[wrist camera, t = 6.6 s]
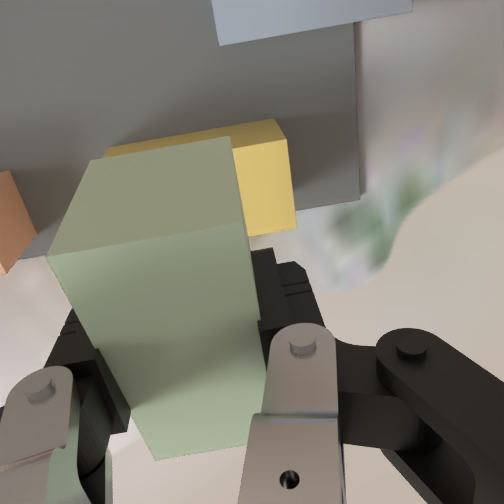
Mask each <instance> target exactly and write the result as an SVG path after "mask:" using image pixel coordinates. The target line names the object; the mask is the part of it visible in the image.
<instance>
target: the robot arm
mask: <svg viewBox="0 0 504 504" xmlns="http://www.w3.org/2000/svg"><path fill="white" fill-rule="evenodd" d="M250 252H251V259H252V265H253V272H254V278H255V285H256V291H257V298H258V304H259V311H260V317H261V320H258V321H257V323H258V330H259V336H260V341H261V346H262V351H263V357H264V362H265V367H266V372H267V374H266V380H265V387H264V394H263V401H262V408H261V413H255V414H254V415H253V417H252V420H251V424H250V430H249V436H248V442H247V449H246V455H245V461H244V468H243V473H242V479H241V485H240V491H239V497H238V504H346V485H345V463H344V444H351V445H358V446H366V447H373V448H374V447H375V448H380V449H381V451H382V453H383V454H384V455H385V456H386V458H387V459H388V460H389V461H390V462H391V463H392V464H393V466H394V467H395V468H396V469H397V470H398V471H399V472H400V473H401V475H402V476H403V477H404V478H405V479H406V480H407V481H408V482H409V483H410V485H411V486H412V487H413V488H414V489H415V490H416V491H417V492H418V493H419V495H420V496H421V497H422V498H423V499H424V500H425V501H426V502H427V503H428V504H504V382H502V381H501V380H499V379H498V378H497V377H495V376H494V375H492V374H491V373H489V372H488V371H487V370H485V369H484V368H482V367H481V366H479V365H478V364H476V363H475V362H474V361H472V360H471V359H469V358H468V357H466V356H465V355H463V354H462V353H461V352H459V351H458V350H456V349H455V348H453V347H452V346H450V345H449V344H448V343H446V342H445V341H443V340H442V339H440V338H439V337H437V336H436V335H434V334H432V333H430V332H427V331H424V330H420V329H413V328H402V329H396V330H392V331H390V332H388V333H386V334H384V335H383V336H382V337H381V338H380V339H379V340H378V342H377V344H376V347H374V346H359V345H352V344H348V343H345V342H342V341H340V340H338V339H336V338H335V337H334V336H333V334H332V333H331V332H330V331H329V330H328V329H326V327H325V325H324V322H323V319H322V316H321V313H320V311H319V308H318V305H317V302H316V299H315V296H314V293H313V292H312V288H311V285H310V283H309V279H308V276H307V274H306V271H305V269H304V268H302V267H301V266H300V265H299V264H297V263H296V262H295V261H292V262H287V263H281V264H277V263H276V259H275V255H274V251H273V247H272V248H266V249H260V250H255V251H250ZM130 414H131V408H130V406H129V404H128V403H127V401H126V399H125V397H124V395H123V393H122V391H121V389H120V388H119V386H118V384H117V382H116V380H115V378H114V376H113V374H112V372H111V371H110V369H109V367H108V365H107V363H106V361H105V359H104V357H103V355H102V354H101V352H100V350H99V348H97V349H95V348H94V346H93V344H92V343H91V341H90V339H89V337H88V335H87V333H86V331H85V330H84V328H83V326H82V324H81V322H80V320H79V318H78V317H77V315H76V313H75V311H74V309H72V310H71V311H70V313H69V315H68V317H67V319H66V322H65V325H64V326H63V328H62V330H61V332H60V336H58V338H57V341H56V343H55V345H54V347H53V349H52V351H51V353H50V355H49V357H48V360H47V362H46V364H45V366H44V368H43V369H40V370H38V371H35V372H33V373H31V374H30V375H28V376H26V377H25V378H23V379H22V380H21V381H20V382H18V383H17V384H16V385H15V386H14V388H13V389H12V390H11V391H10V393H9V395H8V397H7V399H6V403H5V406H3V407H1V408H0V504H113V496H112V493H113V492H112V456H111V453H110V451H109V449H108V447H107V446H108V442H109V438H110V435H112V434H118V433H123V432H127V429H128V424H129V419H130Z"/></svg>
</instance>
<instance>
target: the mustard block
mask: <svg viewBox="0 0 504 504" xmlns="http://www.w3.org/2000/svg"><path fill="white" fill-rule="evenodd" d="M225 136H230V140H231V146H232V151H233V157H234V162H235V167H236V173H237V178H238V184H239V189H240V195H241V200H242V206H243V211H244V216H245V222H246V227H247V233H248V237H249V236H255V235H261V234H266V233H272V232H278V231H283V230H289V229H295V228H297V223H296V215H295V206H294V198H293V189H292V181H291V172H290V164H289V155H288V147H287V139H286V137H285V136H284V134H283V132H282V131H281V129H280V127H279V125H278V124H277V122H276V120H275V119H274V118H272V119H266V120H261V121H255V122H249V123H244V124H238V125H232V126H227V127H221V128H215V129H210V130H204V131H198V132H193V133H187V134H181V135H176V136H170V137H164V138H159V139H153V140H148V141H142V142H136V143H131V144H125V145H119V146H114V147H109V149H108V150H107V151H106V153H105V154H104V156H103V157H102V158H107V157H112V156H118V155H124V154H129V153H135V152H141V151H146V150H152V149H157V148H163V147H169V146H174V145H180V144H186V143H191V142H197V141H202V140H208V139H214V138H219V137H225Z"/></svg>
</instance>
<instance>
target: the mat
mask: <svg viewBox="0 0 504 504" xmlns="http://www.w3.org/2000/svg"><path fill="white" fill-rule="evenodd" d="M272 118H274V119H275V120H276V122H277V124H278V125H279V127H280V129H281V131H282V132H283V134H284V136H285V137H286V139H287V147H288V155H289V164H290V172H291V181H292V189H293V198H294V206H295V211H298V210H304V209H310V208H315V207H321V206H327V205H332V204H338V203H344V202H349V201H355V200H360V182H359V157H358V131H357V105H356V79H355V53H354V27H353V22H352V23H347V24H341V25H335V26H330V27H324V28H318V29H313V30H307V31H301V32H296V33H290V34H285V35H279V36H273V37H268V38H262V39H256V40H251V41H245V42H239V43H234V44H228V45H223V46H220V45H219V41H218V36H217V31H216V25H215V19H214V13H213V8H212V2H211V0H0V172H3V171H8V170H9V171H10V173H11V175H12V178H13V180H14V182H15V184H16V187H17V189H18V191H19V194H20V196H21V198H22V200H23V203H24V205H25V207H26V210H27V212H28V214H29V216H30V219H31V221H32V223H33V226H34V228H35V230H36V232H37V235H36V237H35V238H34V239H33V241H32V242H31V243H30V244H29V246H28V247H27V248H26V250H25V251H24V252H23V253H22V255H21V256H20V257H19V259H18V260H21V259H26V258H32V257H38V256H43V255H47V253H48V251H49V249H50V246H51V244H52V242H53V240H54V238H55V236H56V234H57V231H58V229H59V227H60V225H61V223H62V221H63V218H64V216H65V214H66V212H67V210H68V208H69V205H70V203H71V201H72V199H73V197H74V195H75V193H76V190H77V188H78V186H79V184H80V182H81V180H82V177H83V175H84V173H85V171H86V169H87V167H88V164H89V162H90V160H96V159H101V158H102V157H103V156H104V154H105V153H106V151H107V150H108V149H109V147H114V146H119V145H125V144H131V143H136V142H142V141H148V140H153V139H159V138H164V137H170V136H176V135H181V134H187V133H193V132H198V131H204V130H210V129H215V128H221V127H227V126H232V125H238V124H244V123H249V122H255V121H261V120H266V119H272Z"/></svg>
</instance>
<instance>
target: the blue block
mask: <svg viewBox="0 0 504 504" xmlns="http://www.w3.org/2000/svg"><path fill="white" fill-rule="evenodd" d="M211 2H212V8H213V13H214V19H215V25H216V31H217V36H218V41H219V45H220V46H223V45H228V44H234V43H239V42H245V41H251V40H256V39H262V38H268V37H273V36H279V35H285V34H290V33H296V32H301V31H307V30H313V29H318V28H324V27H330V26H335V25H341V24H347V23H352V22H358V21H363V20H369V19H375V18H380V17H386V16H392V15H397V14H403V13H409V12H412V0H211Z"/></svg>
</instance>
